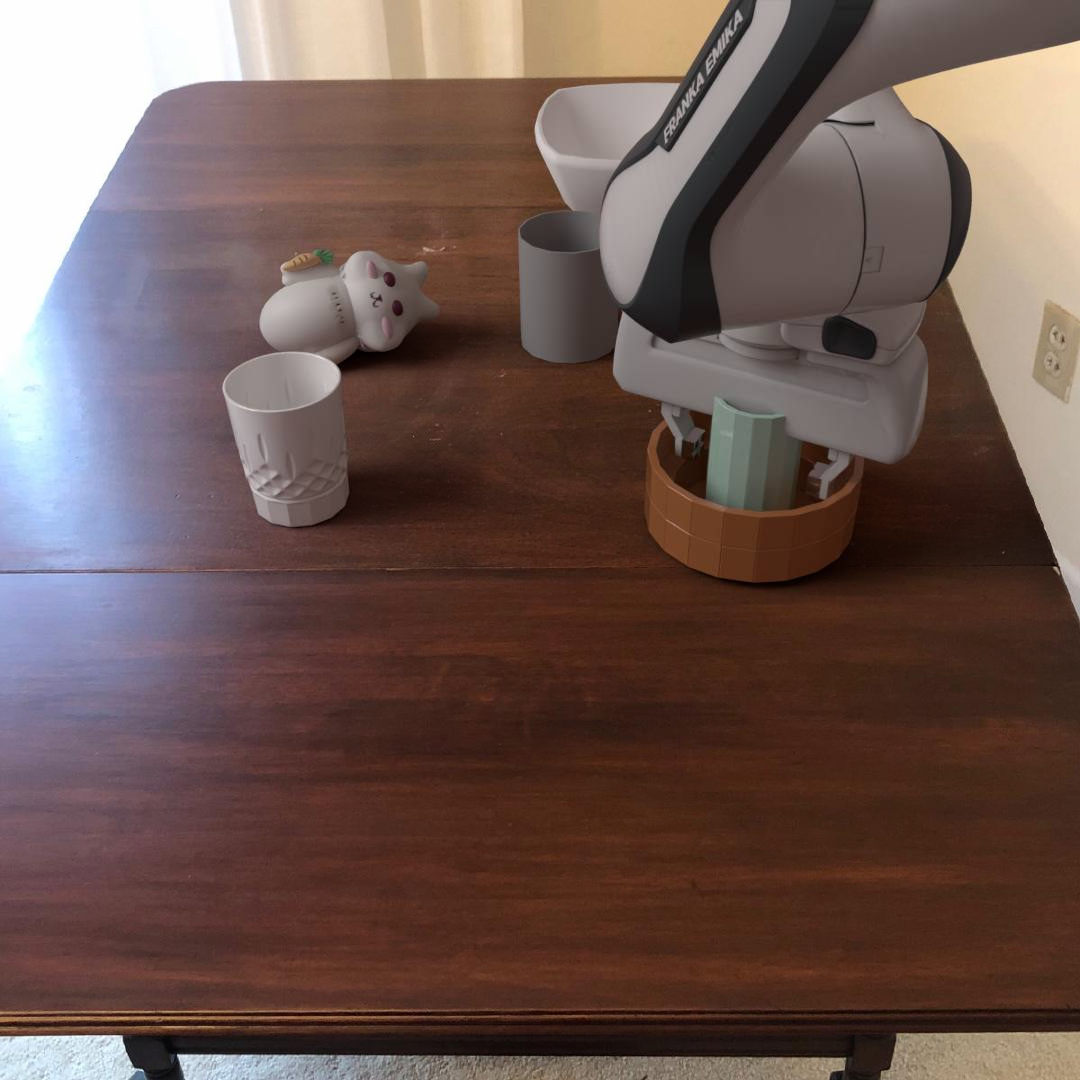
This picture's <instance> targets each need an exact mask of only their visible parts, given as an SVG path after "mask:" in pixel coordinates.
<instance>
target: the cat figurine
mask: <svg viewBox="0 0 1080 1080" xmlns="http://www.w3.org/2000/svg"><path fill="white" fill-rule="evenodd" d="M334 253H335V252H334V251H332V250H331V249H328V250H327V249H324V248H323V249H322V248H316V249H314V250H313V252H312V253H310V252H309V253H308V252H304V253H301V254H298V255H297V256H295V257H293V258H292V259H291V260H289V261H286V262H283V263H282V264H281V265H280V272H281V274H282V276H281V282H282V284H283V285H284V287H282V288H281V289H279V290H278V291H276V292H275V293H274V294H273V295H271V297H270V298H269V299H268V300H267V301H266V303H265V304H264V306H263V307H262V310H261V312H260V315H259V329H260V333H261V335H262V337H263V338H264V340H265V341H266V342H267V344H269V346H271V347H272V348H274V349H275V350H277V351H278V352H306V353H312V354H317V355H320V356H323V357H325V358H327V359H329V360H331V361H332V362H334V363H335V364H336V365H337V366H338V365H339V364H340V363H342V362H344V361H345V360H346V359H348V358H349V357H350V356H352V355H353V354H354V353H355V352H356V350H360V351H362V352H367V353H375V352H380V353H381V352H382V353H384V352H389V351H392V350H394V349H396V348H397V347H399V346H400V345H401V343H403V341H404V338H405V337H406V336H407V335H409V333H410V332H411V331H412V330H413V328H414V327H415V326H416V325H417V324H418V323H419V322H421V321H423V320H425V319H426V320H430V319H434V318H436V317H438V316H439V314H440V306H439V304H438V303H437V302H435V301H434V300H432V299H431V298H429V297H427V296H426V295H425V294H424V293H423V287H424V284H425V283H426V281H427V279H428V277H429V274H430V267H429V265H428V264H427V263H426V262H425V261H416V262H414V263H411V264H402V263H399V262H396V261H394V260H391V259H389V258H384V257H383V256H382V255H381V254H380V253H377V252H376V251H372V250H360V251H357V252H355V253H353V254H352V255H350V257H349V258H348V260H347V261H346V262H345V263H343V264H341V265H340V267H339V268H338V267H336V266H334V265H332V264H334V263H335V262H334V261H335V260H334V255H335V254H334Z"/></svg>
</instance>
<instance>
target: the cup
mask: <svg viewBox="0 0 1080 1080" xmlns="http://www.w3.org/2000/svg"><path fill="white" fill-rule="evenodd" d="M599 225H600V215H599V214H595V213H591V212H587V211H573V210H572V209H571V210H567V209H562V210H556V211H549V212H542V213H540V214H537V215H535V216H532V217H529V218H528V219H525V221H523V223H522V224H521V225H520V226H519V227H518V228H517V234H518V235H517V238H518V239H517V241H518V242H517V243H518V244H517V245H518V273H519V275H518V276H519V277H518V278H519V308H520V309H519V311H520V313H519V315H520V339H521V346H522V348H523V349H524V350H525V351H526V352H528V353H529V354H530V355H531V356H532V357H533V358H537V359H541V360H544V361H546V362H550V363H557V364H558V363H559V364H572V365H573V364H575V365H576V364H579V363H586V362H591V361H596V360H598V359H600V358H602V357H604V356H605V355H608V354H610V353H611V352H612V351H613V349H615V346H616V339H617V334H618V329H619V307H618V306H617V305H616V304H615V303H614V301H613V300H612V298H611V296H610V294H609V292H608V289H607V286H606V283H605V279H604V275H603V271H602V265H601V257H600V245H599Z"/></svg>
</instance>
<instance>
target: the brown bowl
mask: <svg viewBox="0 0 1080 1080" xmlns="http://www.w3.org/2000/svg"><path fill="white" fill-rule="evenodd" d="M688 411H689V413H690V416H691V418H692V421H693V423H694V425H695V427H697V428H700V429H703V430H705V439H704V440H703V442H704V450H703V452H702V454H701V455H700V456H699V457H697V460H696V461H695V462H694V461H690V460H687V459H683V458H680V457H677V456H675V438H676V437H675V436H673V434H672V432H671V430H670V428H669V426H668V424H667V423H666V421H665V419H664V418H663V420H662V421H661V422H660V423H659V424H658V425H657V426H656V427H655V428H654V429H652V432H651V436H650V439H649V442H648V445H647V447H646V465H645V466H646V467H645V468H646V469H645V488H644V489H645V490H644V511H643V512H644V518H645V521H646V526H647V531H648V532H649V534H650V535H651V536H652V538H653V539H654V540H655V542H656V543H657V544H658V545H659V547H660V548H661V549H662V550H663V551H664V552H665V553H667V554H668V555H670V556H671V557H673V558H674V559H676V561H679V562H680V563H681V564H683V565H685V566H686V567H688V568H690V569H693V570H695V571H698V572H702V573H704V574H706V575H710V576H712V577H715V578H719V579H725V580H732V581H738V582H746V583H754V584H757V583H773V582H774V583H775V582H787V581H791V580H794V579H798V578H802V577H805V576H807V575H811V574H815V573H817V572H819V571H821V570H823V569H824V568H826V567H827V566H829V565H830V564H832V563H834V562H835V561H837V560H838V559H839V558H840V557H841V556H842V554H843V553H844V551H845V550H846V548H847V547H848V545H849V544H850V542H851V541H852V537H853V533H854V528H855V527H854V526H855V523H856V522H855V521H856V515H857V510H858V505H859V498H860V494H861V488H862V482H863V477H864V465H865V458H863V457H860V456H856V455H855V456H854V458H853V459H852V461H851V462H850V464H849V465H848V466H847V467H846V468H845V469H844V470H843V471H842V472H841V473H840V474H839V475H838V476H837V479H836V484H835V488H834V491H833V493H832V494H831V496H830V497H829V498H827V499H826V500H822V499H819V498H816V497H813V496H810V495H806V493H805V492H806V488H807V487H808V485H807V478H808V475H809V473H810V472H811V470H813V469H814V466H815V464H816V463H817V462H819V463H823V464H827V465H829V464H830V463H831V462H832V460H829V459H828V454H829V448H827V447H824V446H820V445H816V444H813V443H809V442H806V441H803V443H802V451H801V458H800V465H799V472H798V479H797V486H796V493H795V500H794V507H793V510H781V511H763V512H759V511H752V510H744V509H736V508H729V507H725V506H722V505H719V504H716V503H713V502H710V501H707V500H704V498H705V487H706V475H707V463H708V451H709V439H710V427H711V415H708V414H705V413H701V412H697V411H694V410H690V409H688Z"/></svg>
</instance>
